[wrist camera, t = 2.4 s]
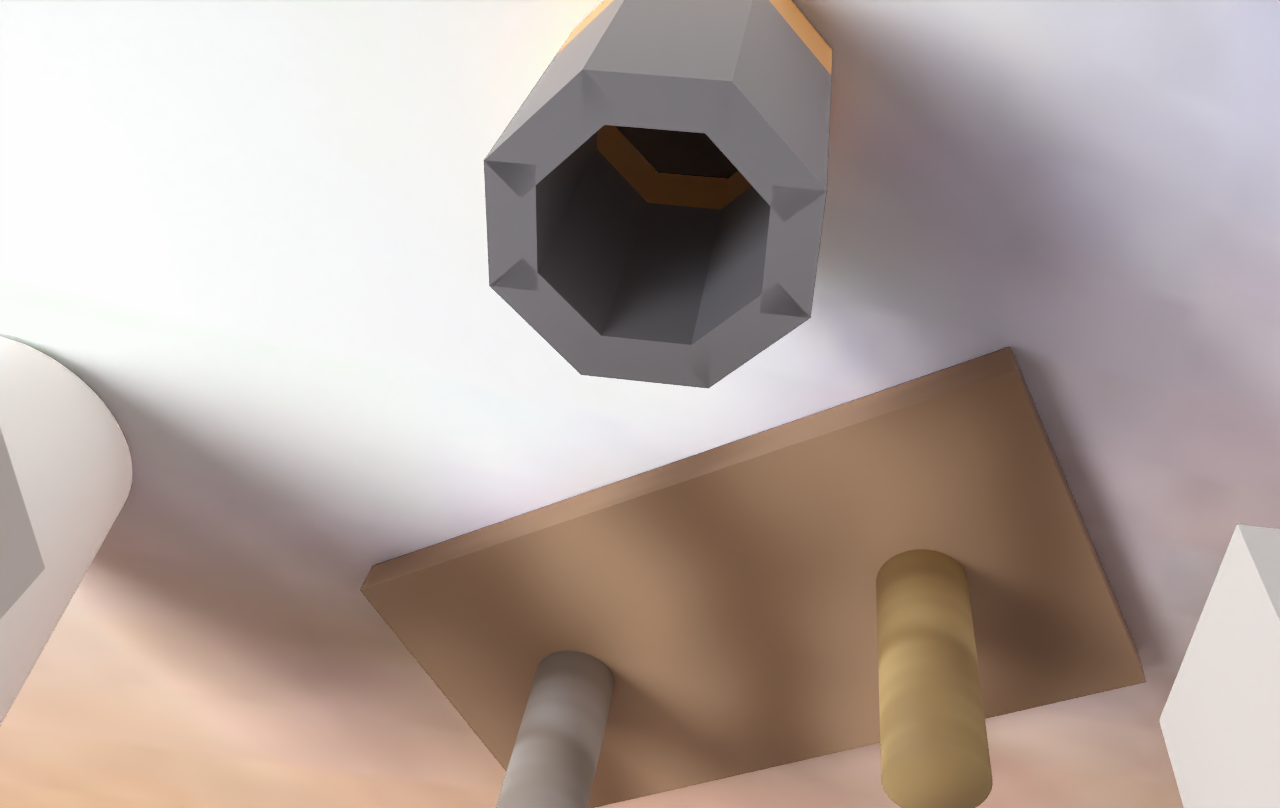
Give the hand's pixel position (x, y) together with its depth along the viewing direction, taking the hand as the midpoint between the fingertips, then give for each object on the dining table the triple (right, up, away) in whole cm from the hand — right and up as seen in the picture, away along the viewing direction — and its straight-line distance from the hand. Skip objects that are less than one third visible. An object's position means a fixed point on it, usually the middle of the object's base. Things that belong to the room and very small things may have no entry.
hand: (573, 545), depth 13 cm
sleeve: (+2, +8, +11) cm, 14 cm away
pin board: (+3, -4, +19) cm, 20 cm away
